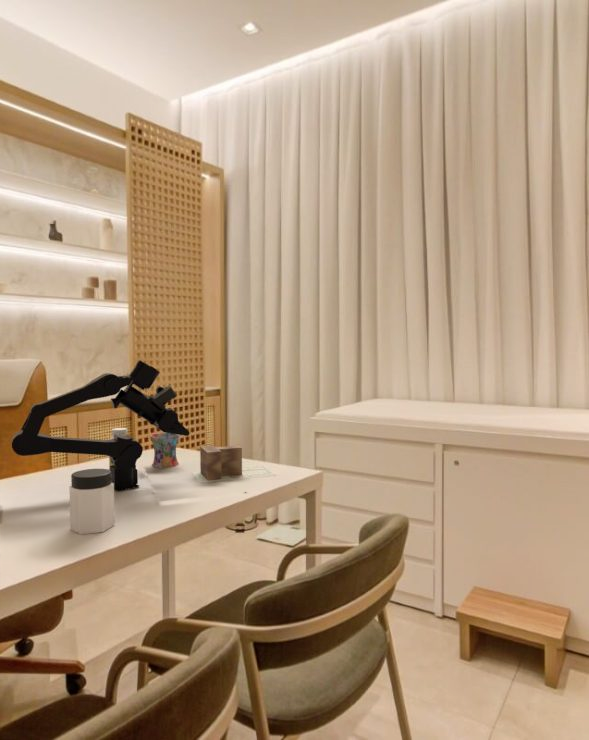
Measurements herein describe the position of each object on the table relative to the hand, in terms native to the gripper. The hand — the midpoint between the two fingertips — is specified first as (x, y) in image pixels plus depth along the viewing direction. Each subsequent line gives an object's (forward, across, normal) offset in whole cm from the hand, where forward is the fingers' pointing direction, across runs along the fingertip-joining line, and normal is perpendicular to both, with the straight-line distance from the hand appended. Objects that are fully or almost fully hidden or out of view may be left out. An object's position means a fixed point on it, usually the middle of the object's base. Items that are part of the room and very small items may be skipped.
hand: (184, 432), depth 156 cm
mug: (+8, +20, +12) cm, 25 cm away
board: (+20, -3, +3) cm, 20 cm away
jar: (-15, -31, +28) cm, 44 cm away
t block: (+16, -3, +5) cm, 17 cm away
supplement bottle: (-4, +24, +20) cm, 31 cm away
